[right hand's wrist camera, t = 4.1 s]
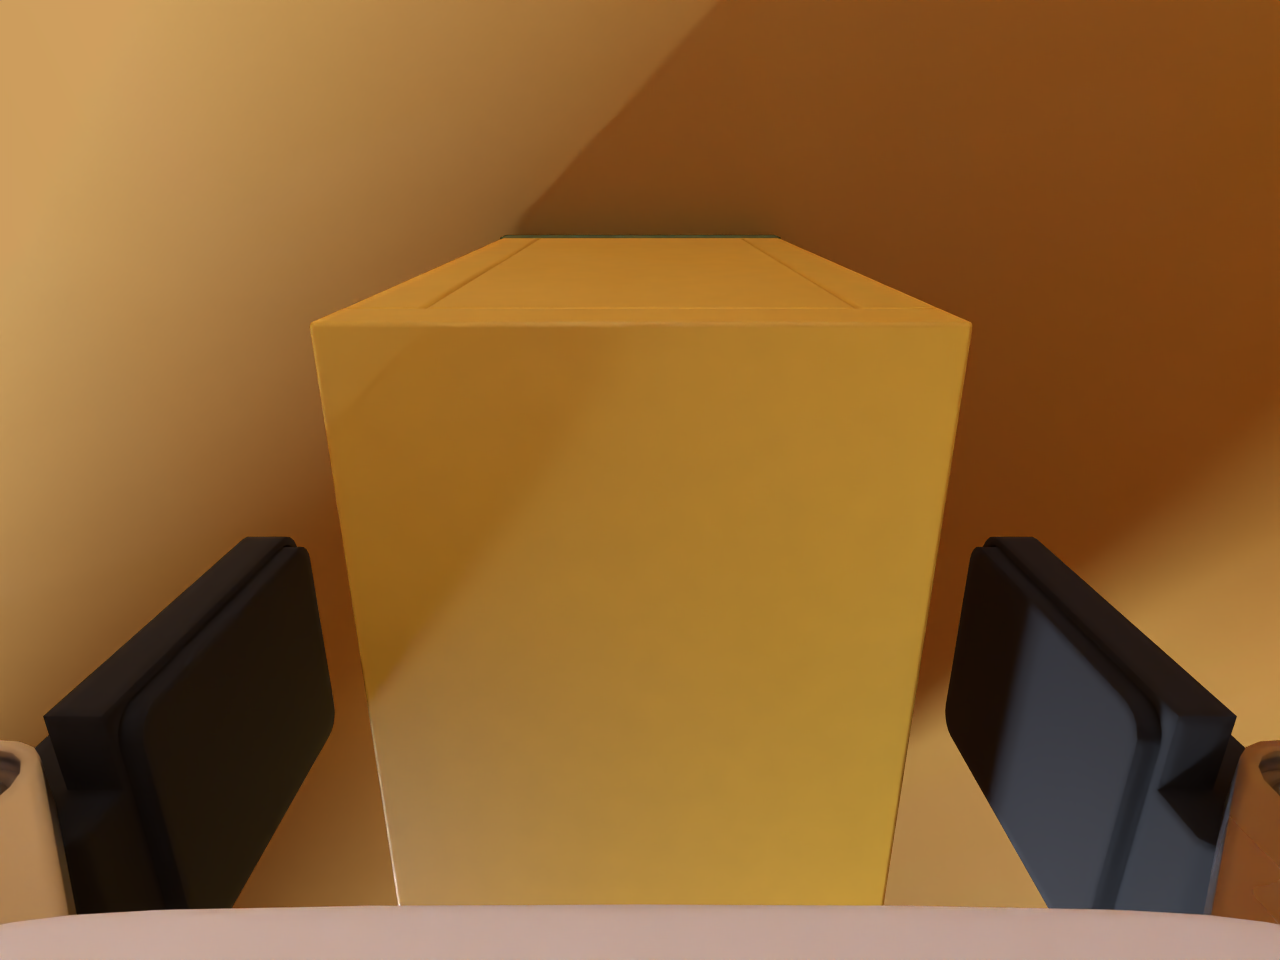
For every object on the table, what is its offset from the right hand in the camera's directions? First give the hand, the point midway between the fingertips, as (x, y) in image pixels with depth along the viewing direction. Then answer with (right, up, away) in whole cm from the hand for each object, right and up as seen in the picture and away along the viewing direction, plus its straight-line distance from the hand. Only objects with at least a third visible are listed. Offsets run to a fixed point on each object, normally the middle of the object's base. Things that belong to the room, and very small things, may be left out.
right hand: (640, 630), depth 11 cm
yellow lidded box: (0, 0, +10) cm, 10 cm away
